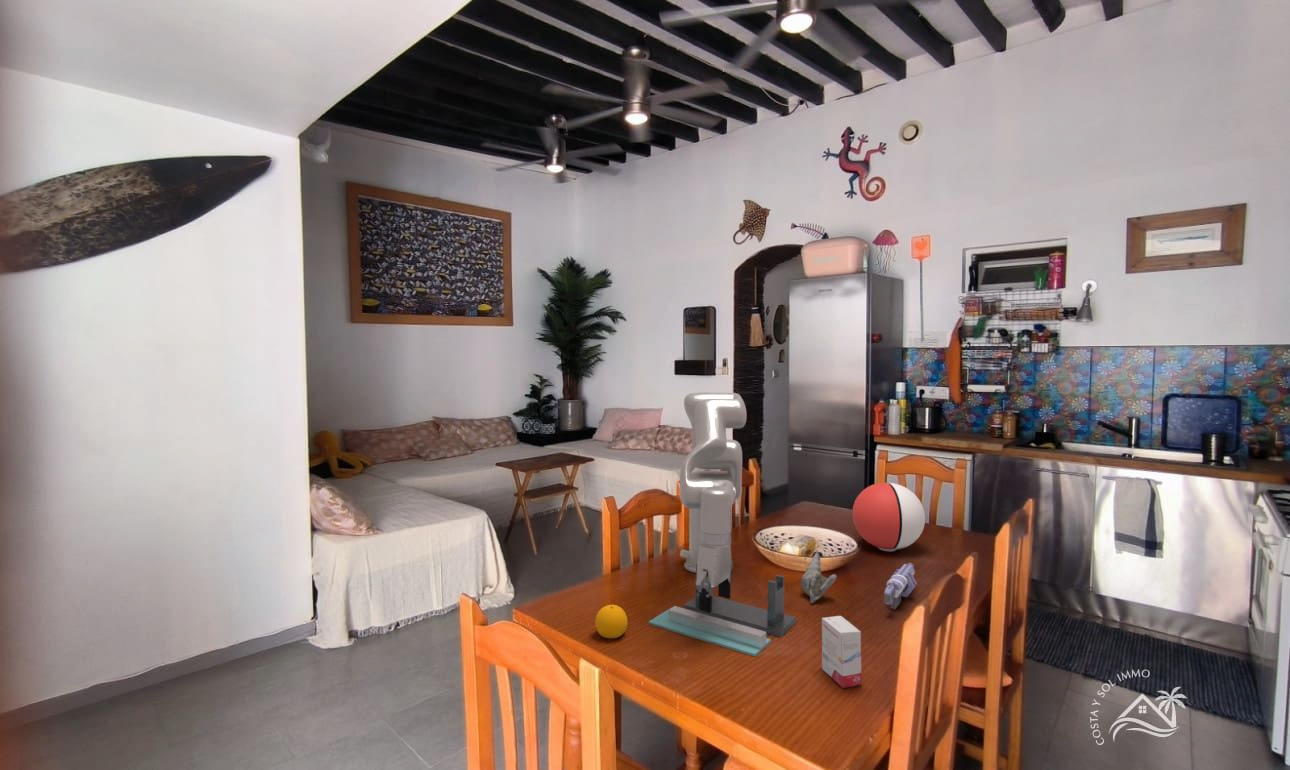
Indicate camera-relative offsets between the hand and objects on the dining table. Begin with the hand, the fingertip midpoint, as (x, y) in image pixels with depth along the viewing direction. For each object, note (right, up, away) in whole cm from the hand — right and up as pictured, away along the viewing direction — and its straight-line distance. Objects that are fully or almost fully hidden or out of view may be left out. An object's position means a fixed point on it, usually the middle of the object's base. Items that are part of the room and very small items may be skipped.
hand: (715, 604), depth 156 cm
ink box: (+25, -9, -20) cm, 33 cm away
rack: (+7, -7, +10) cm, 15 cm away
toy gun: (+54, -7, +21) cm, 59 cm away
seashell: (+33, -6, +25) cm, 42 cm away
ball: (+69, -4, +66) cm, 96 cm away
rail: (0, -7, 0) cm, 7 cm away
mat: (-2, -8, +1) cm, 8 cm away
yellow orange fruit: (-26, -8, 0) cm, 27 cm away
